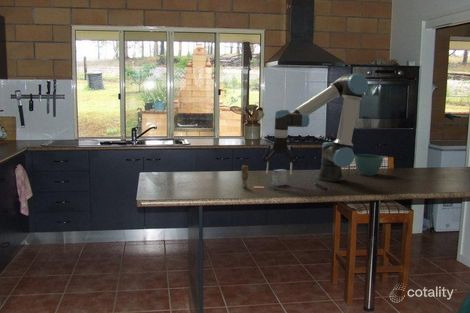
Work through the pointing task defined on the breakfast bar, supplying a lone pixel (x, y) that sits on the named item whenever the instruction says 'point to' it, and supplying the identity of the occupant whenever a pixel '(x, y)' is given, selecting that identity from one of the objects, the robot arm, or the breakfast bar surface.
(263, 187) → the joist mark
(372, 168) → the plant pot
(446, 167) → the breakfast bar surface
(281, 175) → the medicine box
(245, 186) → the awl
